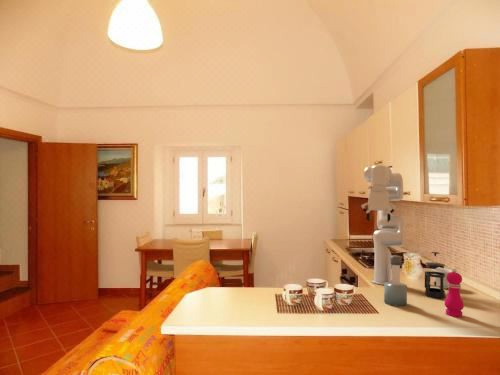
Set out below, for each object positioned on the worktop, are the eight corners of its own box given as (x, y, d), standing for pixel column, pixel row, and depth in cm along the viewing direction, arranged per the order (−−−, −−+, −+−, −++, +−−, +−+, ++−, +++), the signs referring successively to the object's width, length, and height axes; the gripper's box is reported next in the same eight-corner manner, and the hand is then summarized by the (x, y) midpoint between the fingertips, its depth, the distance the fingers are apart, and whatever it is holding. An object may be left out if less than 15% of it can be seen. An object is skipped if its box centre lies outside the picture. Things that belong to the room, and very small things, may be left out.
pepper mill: (454, 311, 154) (454, 266, 155) (467, 317, 147) (468, 270, 148) (440, 312, 153) (440, 267, 153) (453, 318, 146) (453, 270, 146)
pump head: (401, 284, 162) (401, 257, 162) (389, 283, 164) (390, 256, 164) (400, 280, 169) (401, 255, 170) (390, 279, 171) (390, 254, 172)
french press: (450, 298, 175) (451, 253, 176) (435, 299, 173) (435, 253, 174) (433, 292, 187) (433, 250, 187) (418, 293, 184) (418, 250, 185)
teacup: (454, 285, 204) (454, 268, 204) (455, 291, 191) (455, 273, 191) (431, 282, 209) (431, 266, 210) (431, 288, 196) (431, 270, 196)
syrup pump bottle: (407, 307, 158) (407, 267, 159) (383, 304, 162) (384, 265, 163) (406, 301, 168) (406, 263, 168) (384, 299, 171) (384, 261, 172)
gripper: (360, 188, 181) (360, 221, 180) (396, 188, 174) (396, 222, 174) (362, 188, 188) (361, 220, 187) (396, 189, 181) (396, 221, 181)
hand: (378, 221), depth 180 cm, fingers open, 9 cm apart
